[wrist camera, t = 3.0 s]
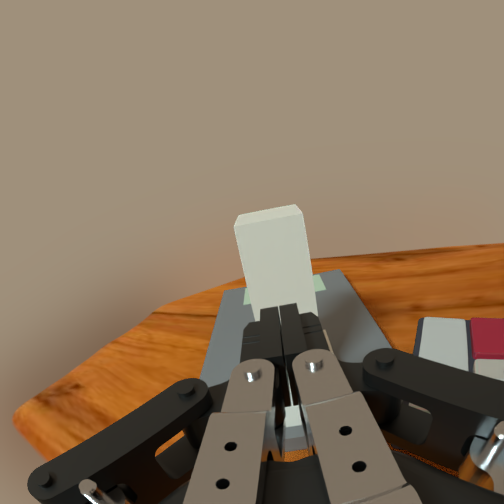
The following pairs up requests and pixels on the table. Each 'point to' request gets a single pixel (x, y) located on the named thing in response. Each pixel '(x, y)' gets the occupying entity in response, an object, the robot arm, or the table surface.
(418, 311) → the table surface
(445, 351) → the calculator
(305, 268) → the switch slider
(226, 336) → the switch panel
